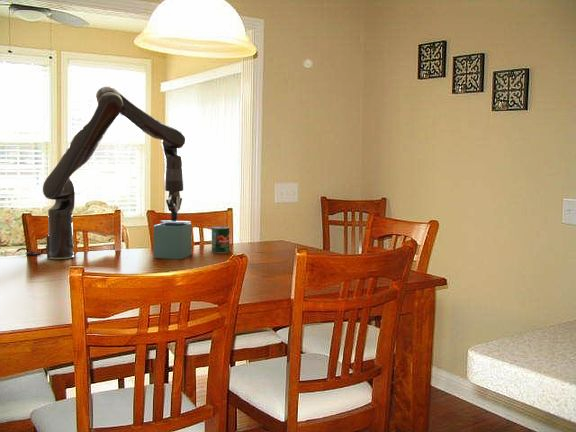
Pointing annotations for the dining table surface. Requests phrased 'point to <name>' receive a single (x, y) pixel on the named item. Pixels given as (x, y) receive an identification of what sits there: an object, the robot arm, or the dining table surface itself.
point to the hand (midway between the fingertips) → (174, 220)
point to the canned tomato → (220, 239)
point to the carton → (172, 240)
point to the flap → (176, 221)
